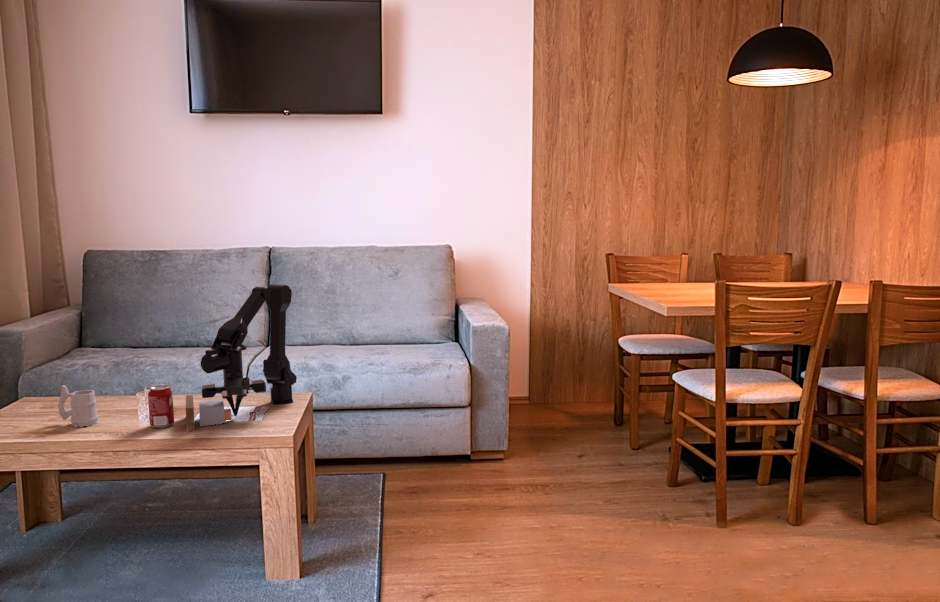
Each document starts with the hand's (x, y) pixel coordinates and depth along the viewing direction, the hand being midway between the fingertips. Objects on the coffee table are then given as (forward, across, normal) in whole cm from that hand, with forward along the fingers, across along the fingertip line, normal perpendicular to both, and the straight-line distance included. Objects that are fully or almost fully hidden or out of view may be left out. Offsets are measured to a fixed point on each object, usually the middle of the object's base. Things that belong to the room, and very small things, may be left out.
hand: (235, 415), depth 224 cm
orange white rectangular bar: (+1, -5, 0) cm, 5 cm away
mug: (+1, -45, +13) cm, 47 cm away
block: (+1, -7, 0) cm, 7 cm away
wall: (+1, -13, 0) cm, 13 cm away
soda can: (+1, -21, +1) cm, 21 cm away
